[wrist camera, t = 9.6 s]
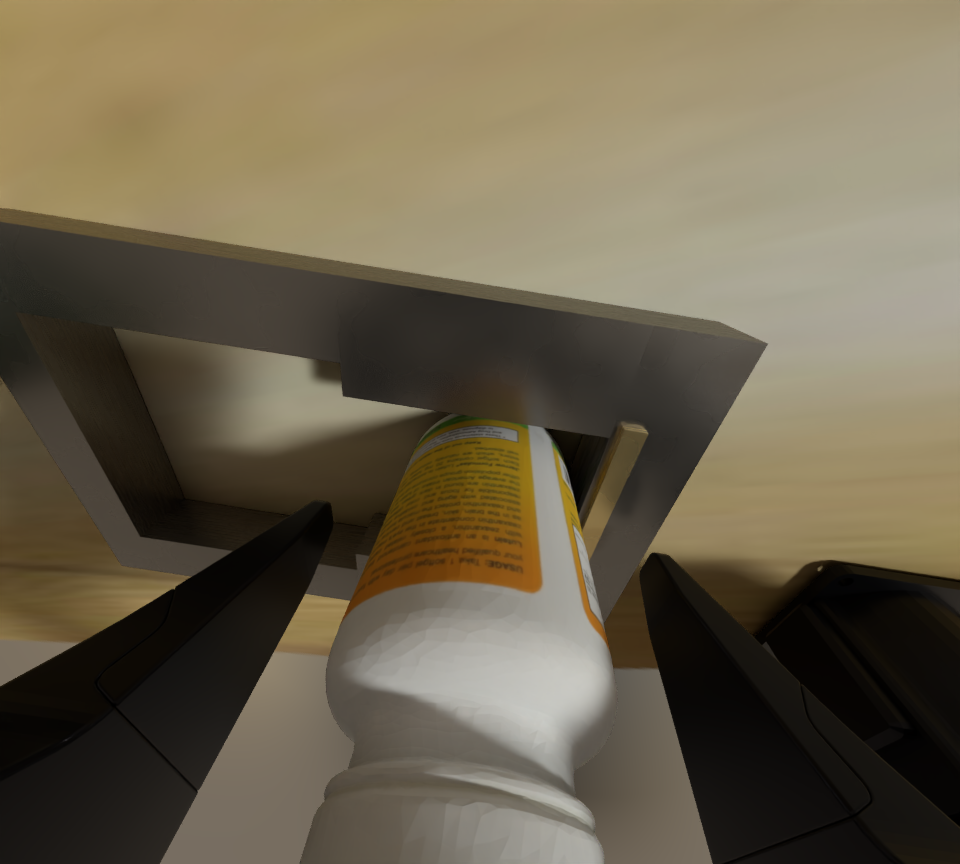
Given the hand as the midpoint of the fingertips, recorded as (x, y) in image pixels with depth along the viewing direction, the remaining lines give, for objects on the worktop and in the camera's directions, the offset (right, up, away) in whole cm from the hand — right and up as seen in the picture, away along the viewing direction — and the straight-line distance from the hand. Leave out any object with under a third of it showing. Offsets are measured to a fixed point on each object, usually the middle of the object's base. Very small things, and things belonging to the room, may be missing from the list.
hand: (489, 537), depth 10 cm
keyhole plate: (-4, +2, +3) cm, 5 cm away
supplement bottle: (0, +2, +3) cm, 3 cm away
